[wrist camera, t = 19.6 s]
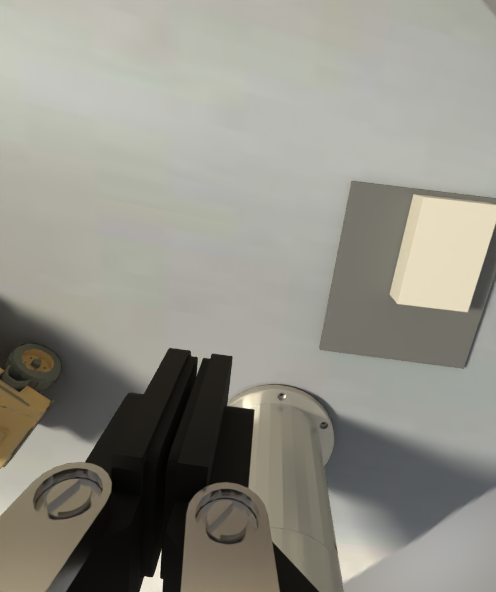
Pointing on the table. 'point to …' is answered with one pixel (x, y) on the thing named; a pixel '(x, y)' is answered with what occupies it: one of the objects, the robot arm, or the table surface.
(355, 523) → the table surface
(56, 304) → the table surface
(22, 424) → the toy car
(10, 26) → the table surface
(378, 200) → the mat
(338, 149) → the table surface
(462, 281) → the card box
